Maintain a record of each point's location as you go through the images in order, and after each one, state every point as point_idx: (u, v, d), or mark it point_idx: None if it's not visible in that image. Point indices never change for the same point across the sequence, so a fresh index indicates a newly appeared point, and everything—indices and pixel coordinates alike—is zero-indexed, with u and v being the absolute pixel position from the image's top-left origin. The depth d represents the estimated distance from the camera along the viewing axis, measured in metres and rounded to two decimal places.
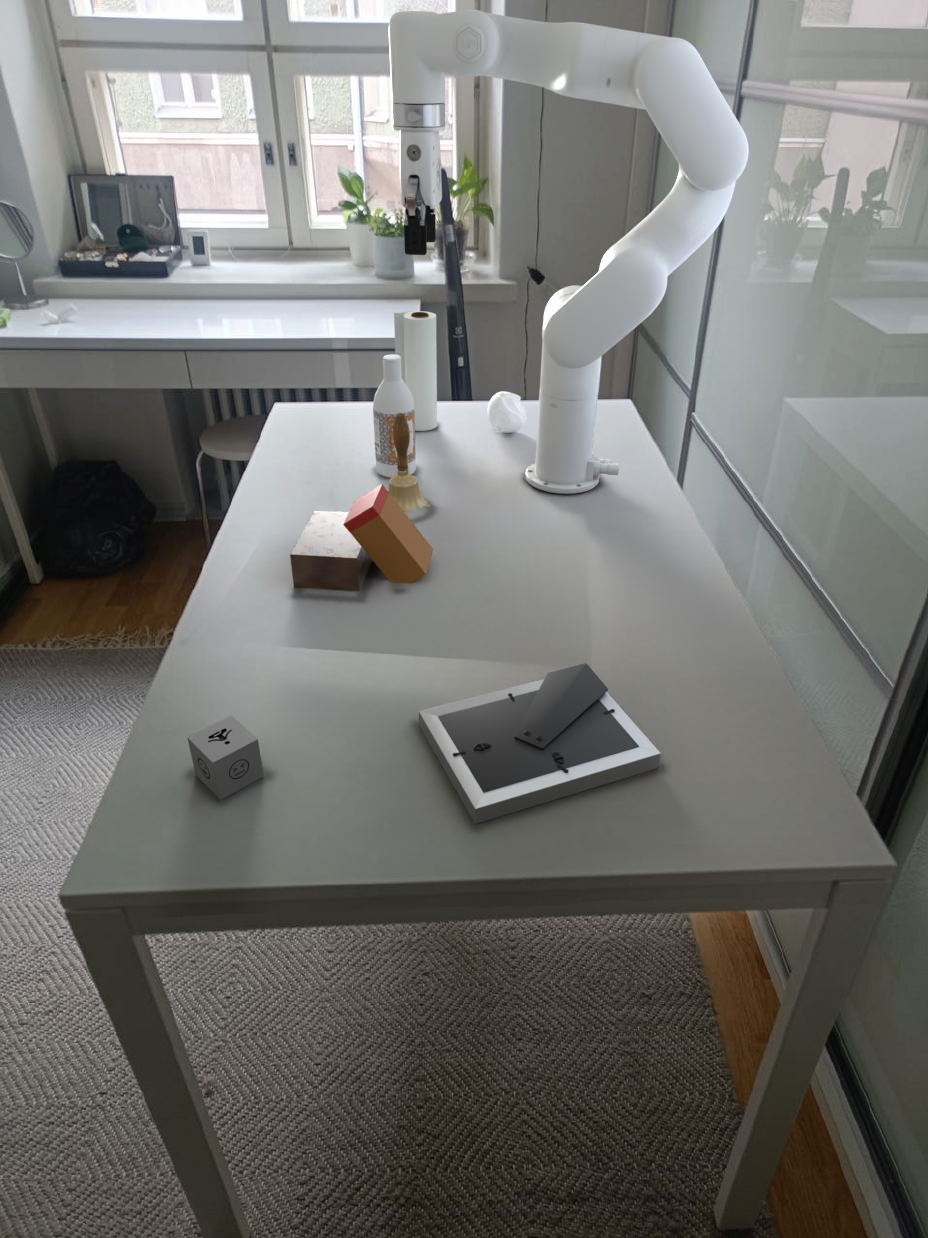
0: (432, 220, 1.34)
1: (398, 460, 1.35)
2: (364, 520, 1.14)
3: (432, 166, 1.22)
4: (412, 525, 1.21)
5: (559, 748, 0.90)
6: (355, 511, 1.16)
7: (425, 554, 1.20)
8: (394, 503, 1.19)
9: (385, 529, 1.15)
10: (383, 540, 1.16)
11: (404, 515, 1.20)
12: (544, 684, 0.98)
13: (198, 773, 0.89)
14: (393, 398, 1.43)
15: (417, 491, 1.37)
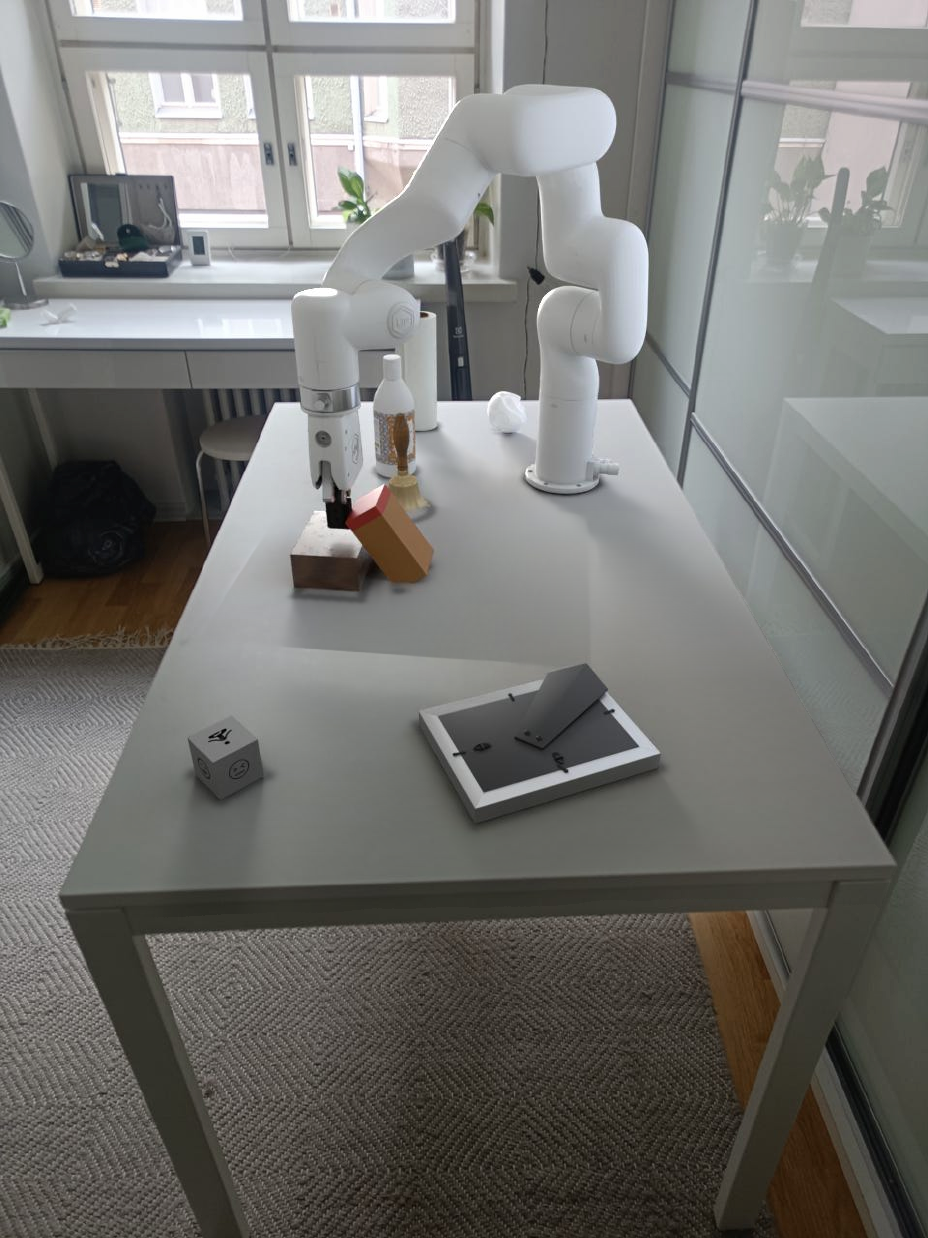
0: None
1: (398, 460, 1.35)
2: (366, 519, 1.14)
3: (345, 451, 1.08)
4: (413, 525, 1.21)
5: (559, 748, 0.90)
6: (357, 510, 1.16)
7: (426, 555, 1.20)
8: (396, 503, 1.19)
9: (388, 529, 1.15)
10: (385, 540, 1.16)
11: (406, 515, 1.20)
12: (544, 684, 0.98)
13: (198, 773, 0.89)
14: (393, 398, 1.43)
15: (417, 491, 1.37)
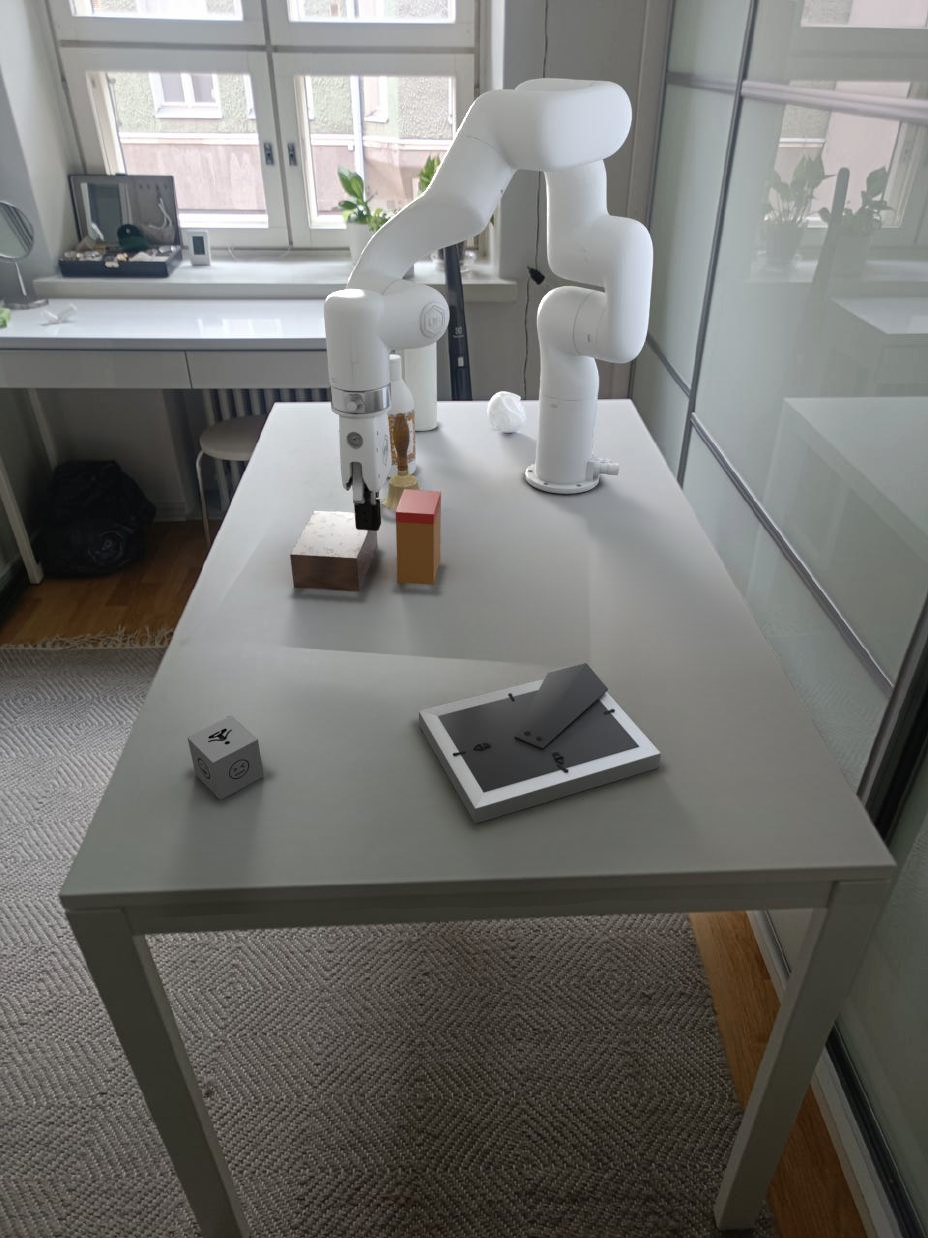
0: None
1: (398, 460, 1.35)
2: (417, 520, 1.13)
3: (377, 452, 1.08)
4: (439, 539, 1.22)
5: (559, 748, 0.90)
6: (410, 505, 1.15)
7: None
8: (439, 514, 1.19)
9: (429, 539, 1.15)
10: (420, 546, 1.15)
11: (439, 528, 1.21)
12: (544, 684, 0.98)
13: (198, 773, 0.89)
14: (393, 398, 1.43)
15: None
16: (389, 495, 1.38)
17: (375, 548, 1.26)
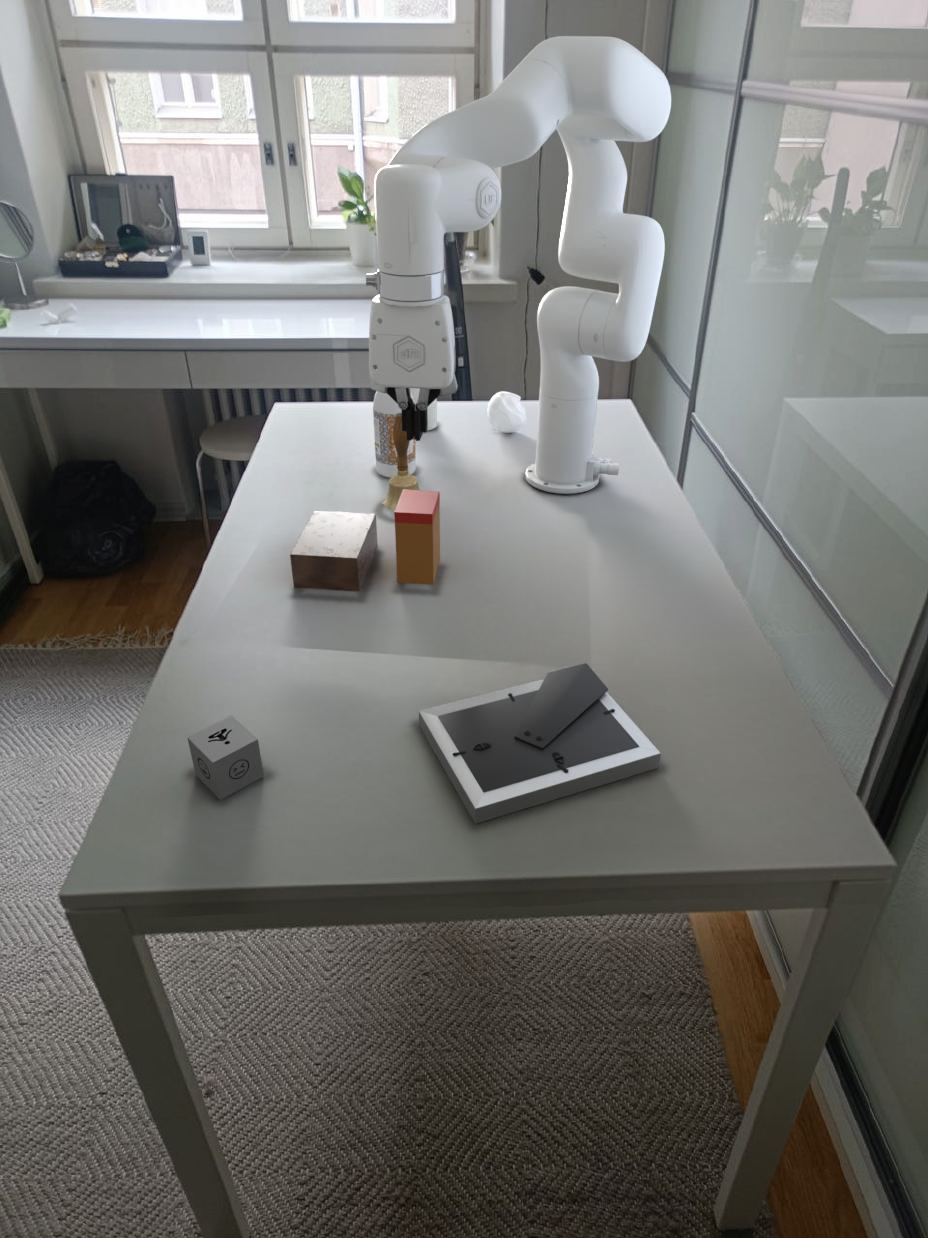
0: (413, 416, 1.08)
1: (398, 460, 1.35)
2: (416, 520, 1.13)
3: (373, 340, 1.02)
4: (439, 539, 1.22)
5: (559, 748, 0.90)
6: (408, 505, 1.15)
7: None
8: (438, 513, 1.19)
9: (428, 539, 1.15)
10: (419, 546, 1.15)
11: (439, 528, 1.21)
12: (544, 684, 0.98)
13: (198, 773, 0.89)
14: None
15: None
16: (389, 495, 1.38)
17: (375, 548, 1.26)
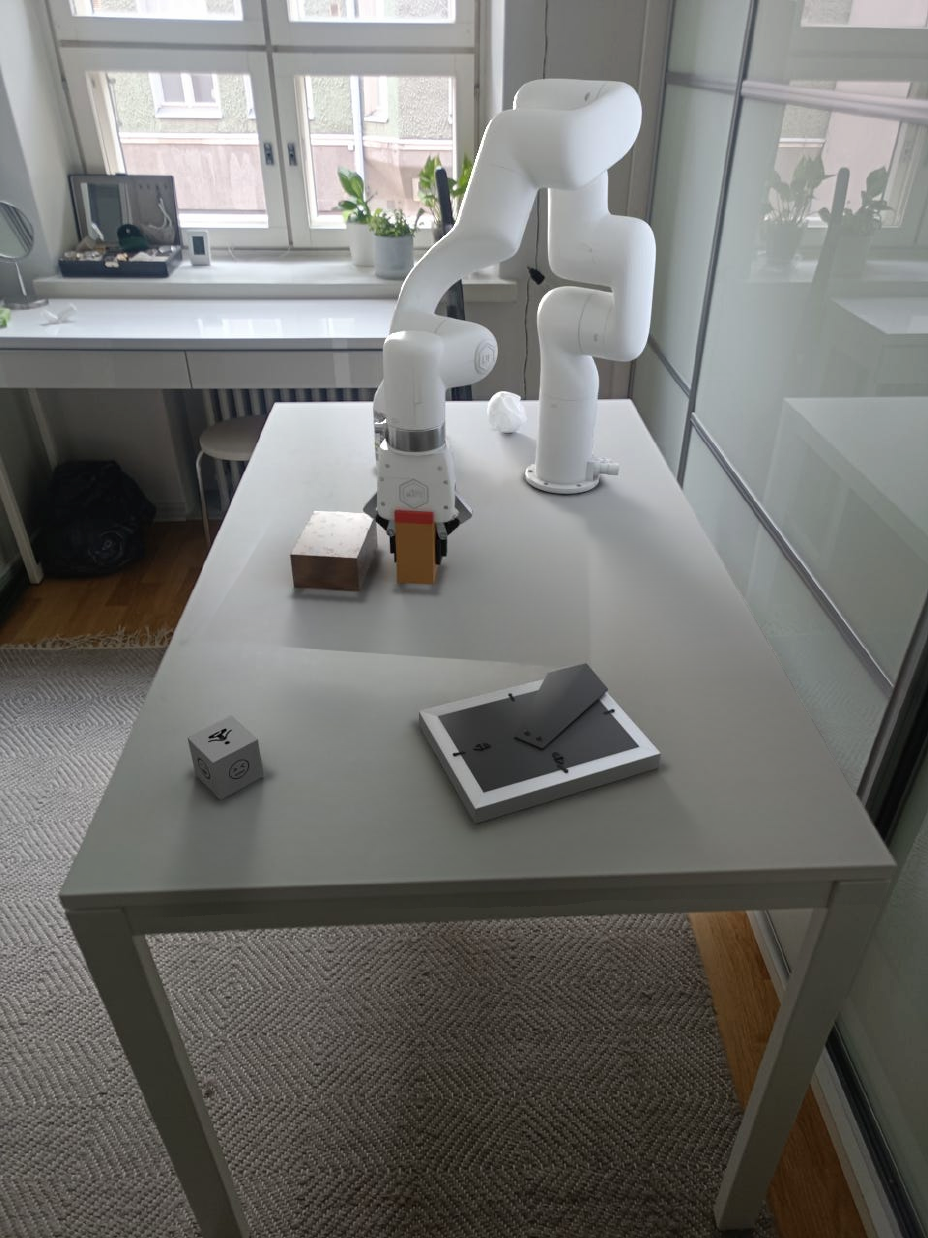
0: (435, 544, 1.18)
1: None
2: (416, 520, 1.13)
3: (381, 481, 1.12)
4: None
5: (559, 748, 0.90)
6: None
7: None
8: None
9: (428, 539, 1.15)
10: (419, 546, 1.15)
11: None
12: (544, 684, 0.98)
13: (198, 773, 0.89)
14: None
15: None
16: None
17: (375, 548, 1.26)
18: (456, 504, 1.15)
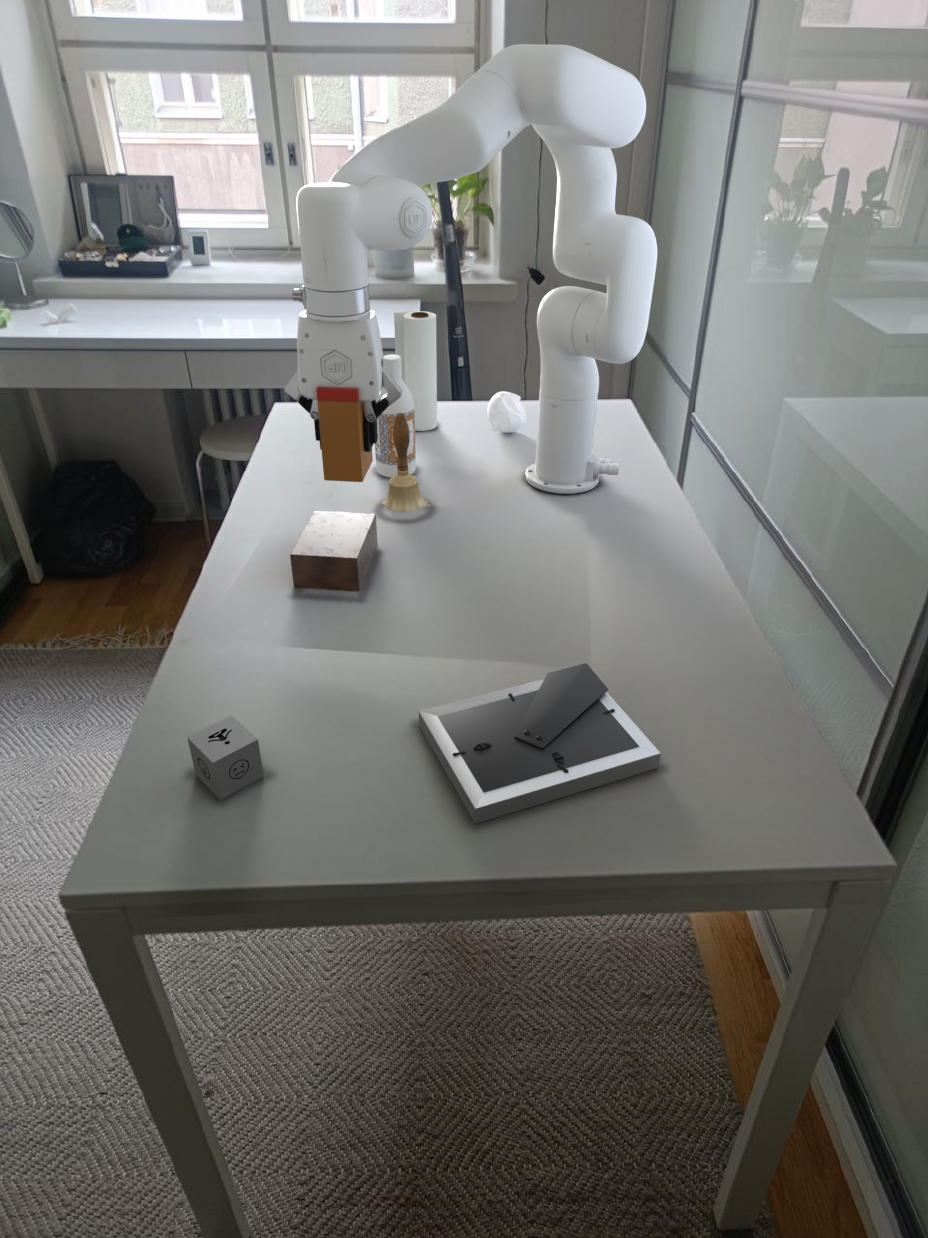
0: (363, 428, 1.10)
1: (398, 460, 1.35)
2: (339, 398, 1.05)
3: (301, 353, 1.04)
4: None
5: (559, 748, 0.90)
6: None
7: (367, 462, 1.14)
8: None
9: (354, 419, 1.07)
10: (344, 428, 1.07)
11: None
12: (544, 684, 0.98)
13: (198, 773, 0.89)
14: None
15: (417, 491, 1.37)
16: (389, 495, 1.38)
17: (375, 548, 1.26)
18: (384, 382, 1.07)
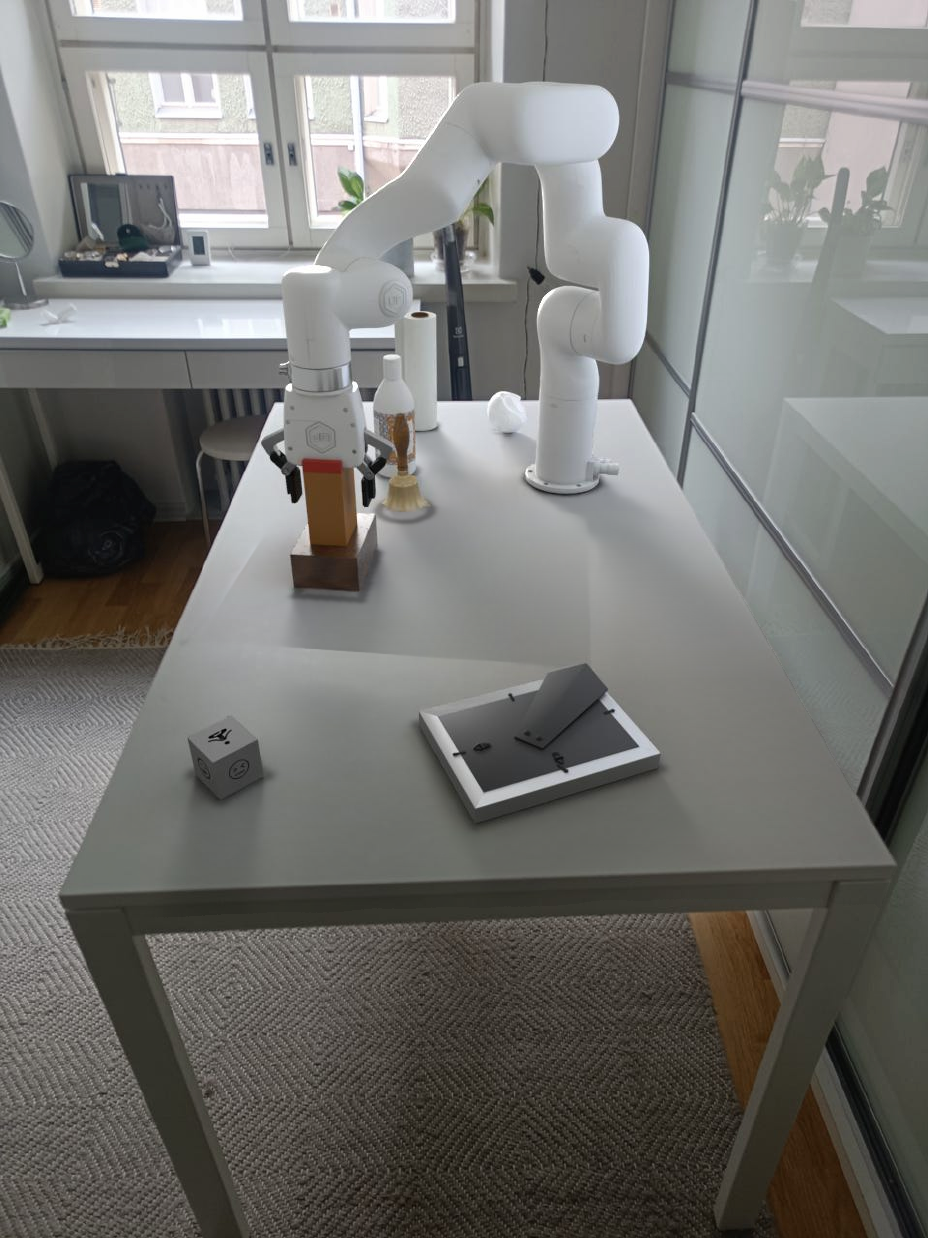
0: (361, 485, 1.14)
1: (398, 460, 1.35)
2: (324, 470, 1.11)
3: (287, 424, 1.09)
4: (354, 492, 1.19)
5: (559, 748, 0.90)
6: None
7: (352, 525, 1.19)
8: None
9: (337, 489, 1.12)
10: (329, 497, 1.13)
11: (353, 480, 1.18)
12: (544, 684, 0.98)
13: (198, 773, 0.89)
14: (393, 398, 1.43)
15: (417, 491, 1.37)
16: (389, 495, 1.38)
17: (375, 548, 1.26)
18: (372, 443, 1.11)
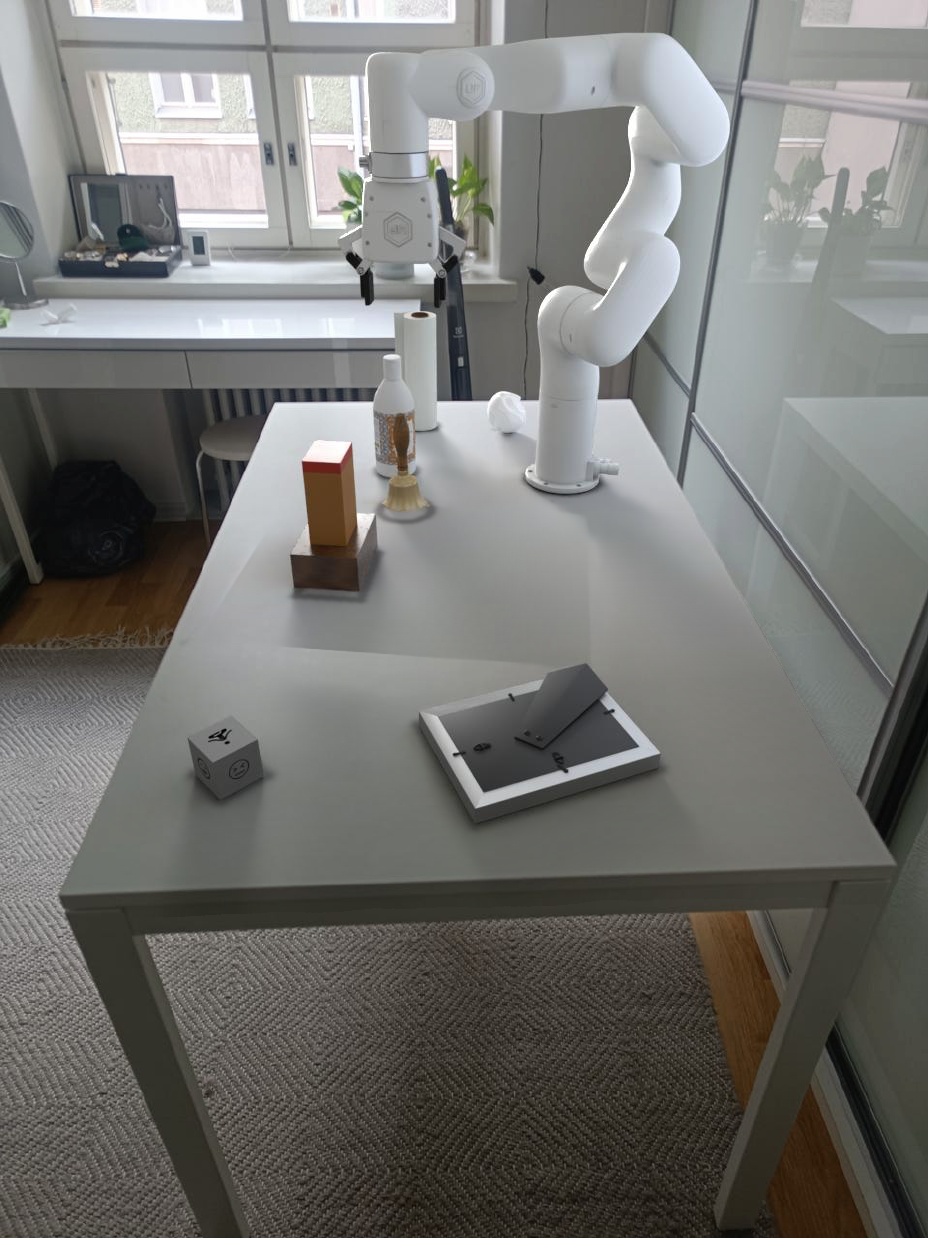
0: (434, 284, 1.18)
1: (398, 460, 1.35)
2: (324, 470, 1.11)
3: (366, 216, 1.13)
4: (354, 492, 1.19)
5: (559, 748, 0.90)
6: (317, 455, 1.12)
7: (352, 525, 1.19)
8: (352, 465, 1.17)
9: (337, 489, 1.12)
10: (329, 497, 1.13)
11: (353, 480, 1.18)
12: (544, 684, 0.98)
13: (198, 773, 0.89)
14: (393, 398, 1.43)
15: (417, 491, 1.37)
16: (389, 495, 1.38)
17: (375, 548, 1.26)
18: (446, 239, 1.16)
